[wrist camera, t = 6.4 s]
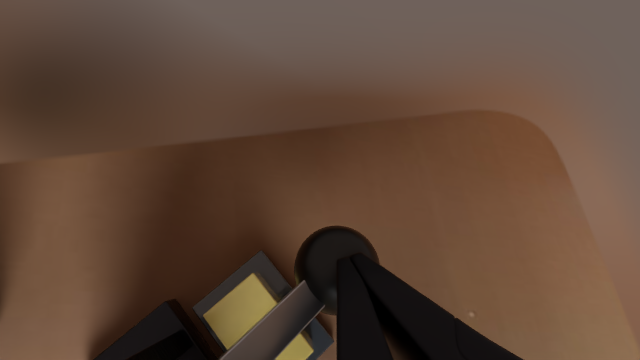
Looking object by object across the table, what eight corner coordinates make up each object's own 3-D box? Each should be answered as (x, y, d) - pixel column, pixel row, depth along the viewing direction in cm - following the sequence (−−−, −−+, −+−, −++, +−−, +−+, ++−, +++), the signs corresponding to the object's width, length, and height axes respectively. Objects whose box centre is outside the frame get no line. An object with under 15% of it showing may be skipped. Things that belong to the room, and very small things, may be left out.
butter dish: (262, 250, 16) (256, 247, 14) (333, 339, 15) (340, 352, 13) (194, 306, 15) (176, 313, 13) (266, 406, 14) (260, 434, 12)
